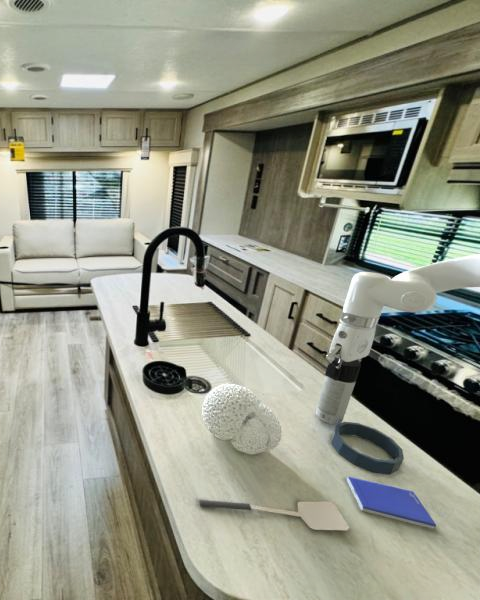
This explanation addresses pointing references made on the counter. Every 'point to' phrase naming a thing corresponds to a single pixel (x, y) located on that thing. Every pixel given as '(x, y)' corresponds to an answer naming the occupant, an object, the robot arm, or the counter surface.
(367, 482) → the hard drive
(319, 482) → the counter surface
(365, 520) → the counter surface
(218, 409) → the white textured rounded lump
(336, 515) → the spatula
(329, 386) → the spray can
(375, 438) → the faceted blue ring
